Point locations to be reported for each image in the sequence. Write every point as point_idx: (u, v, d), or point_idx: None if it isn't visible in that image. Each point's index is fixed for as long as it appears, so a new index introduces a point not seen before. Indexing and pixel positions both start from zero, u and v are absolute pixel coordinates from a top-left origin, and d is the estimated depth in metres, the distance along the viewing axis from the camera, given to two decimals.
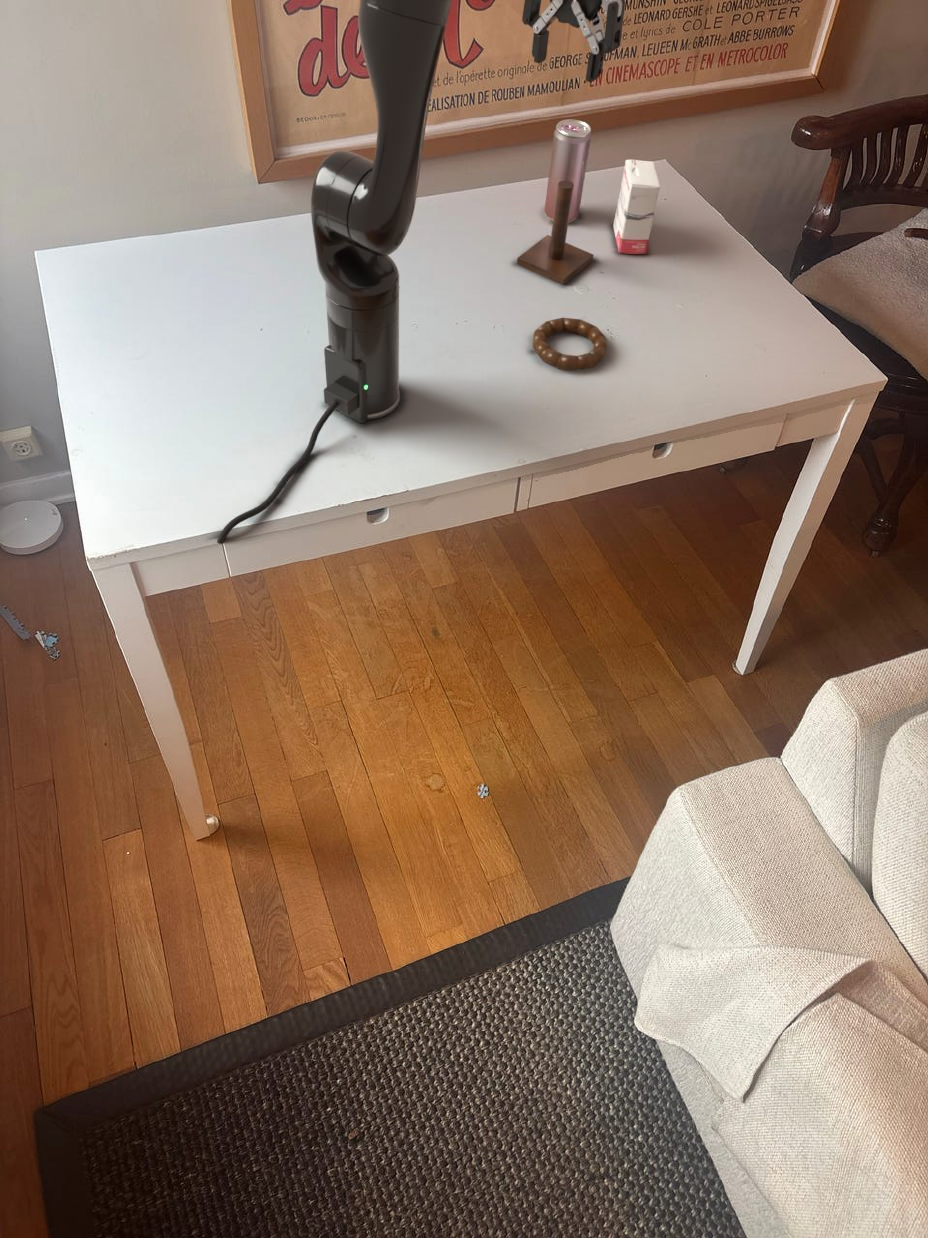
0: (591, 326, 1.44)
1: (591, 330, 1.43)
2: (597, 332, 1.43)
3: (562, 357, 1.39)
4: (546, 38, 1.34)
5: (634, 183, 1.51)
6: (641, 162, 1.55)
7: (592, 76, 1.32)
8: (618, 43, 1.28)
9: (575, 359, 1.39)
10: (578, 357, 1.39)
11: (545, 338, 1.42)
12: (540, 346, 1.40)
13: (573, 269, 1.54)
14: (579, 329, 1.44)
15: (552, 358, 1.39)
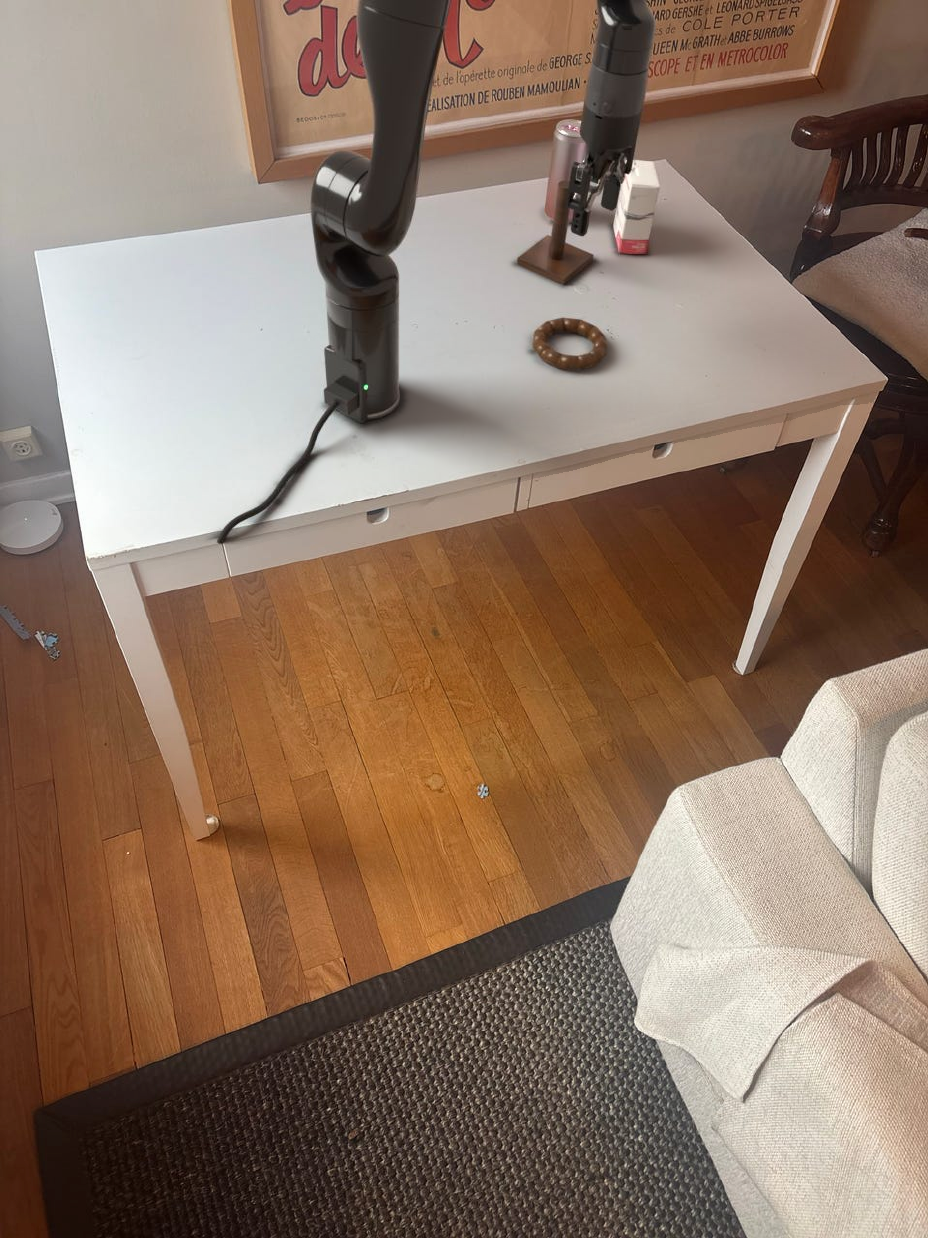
0: (591, 326, 1.44)
1: (591, 330, 1.43)
2: (597, 332, 1.43)
3: (562, 357, 1.39)
4: (613, 190, 1.34)
5: (634, 183, 1.51)
6: (641, 162, 1.55)
7: None
8: (578, 207, 1.27)
9: (575, 359, 1.39)
10: (578, 357, 1.39)
11: (545, 338, 1.42)
12: (540, 346, 1.40)
13: (573, 269, 1.54)
14: (579, 329, 1.44)
15: (552, 358, 1.39)
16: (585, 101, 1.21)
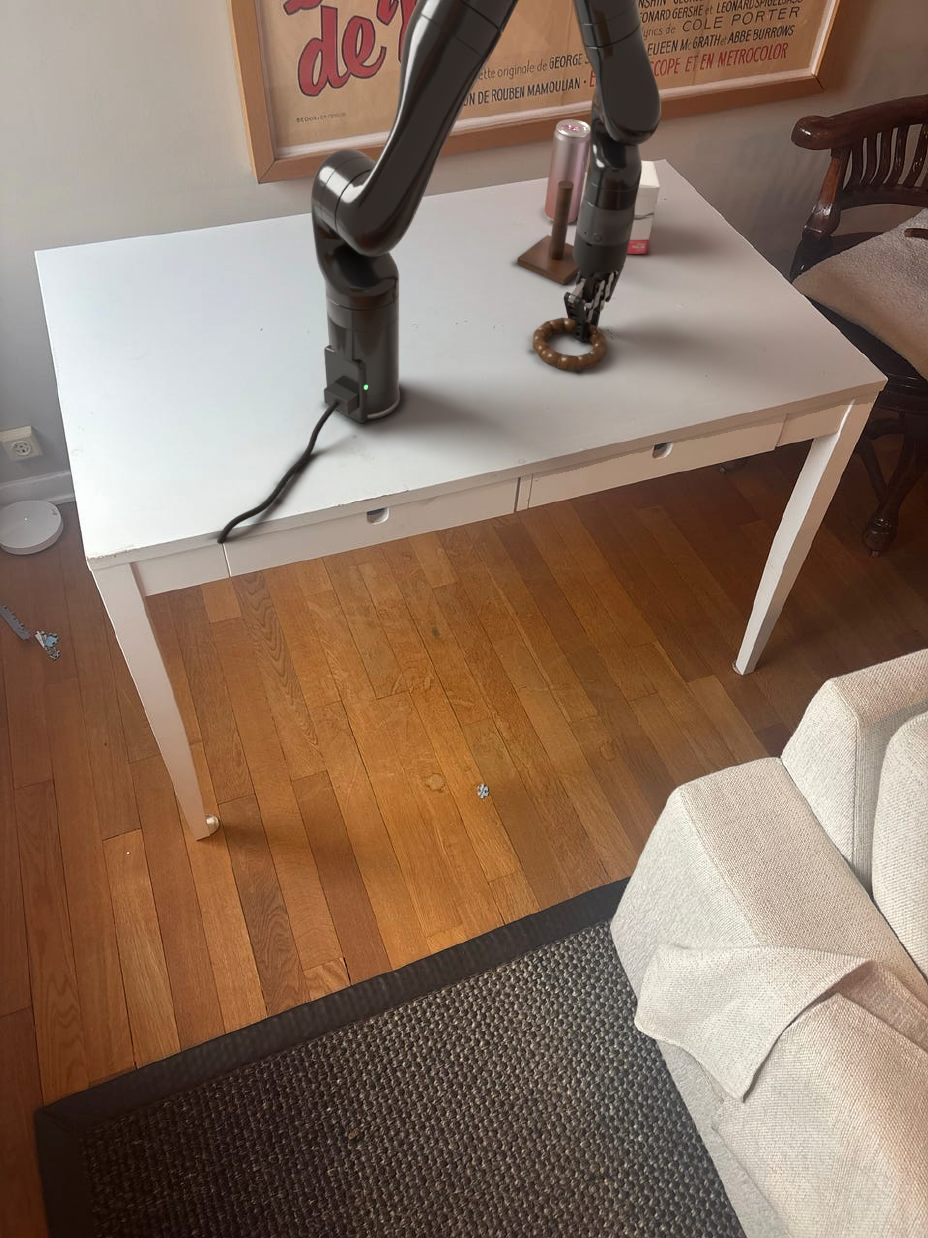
0: (591, 326, 1.44)
1: (591, 330, 1.43)
2: (597, 332, 1.43)
3: (562, 357, 1.39)
4: (593, 317, 1.44)
5: None
6: None
7: None
8: (579, 321, 1.39)
9: (574, 360, 1.39)
10: (578, 357, 1.39)
11: (545, 338, 1.42)
12: (540, 346, 1.40)
13: (573, 269, 1.54)
14: None
15: (552, 358, 1.39)
16: (577, 229, 1.32)
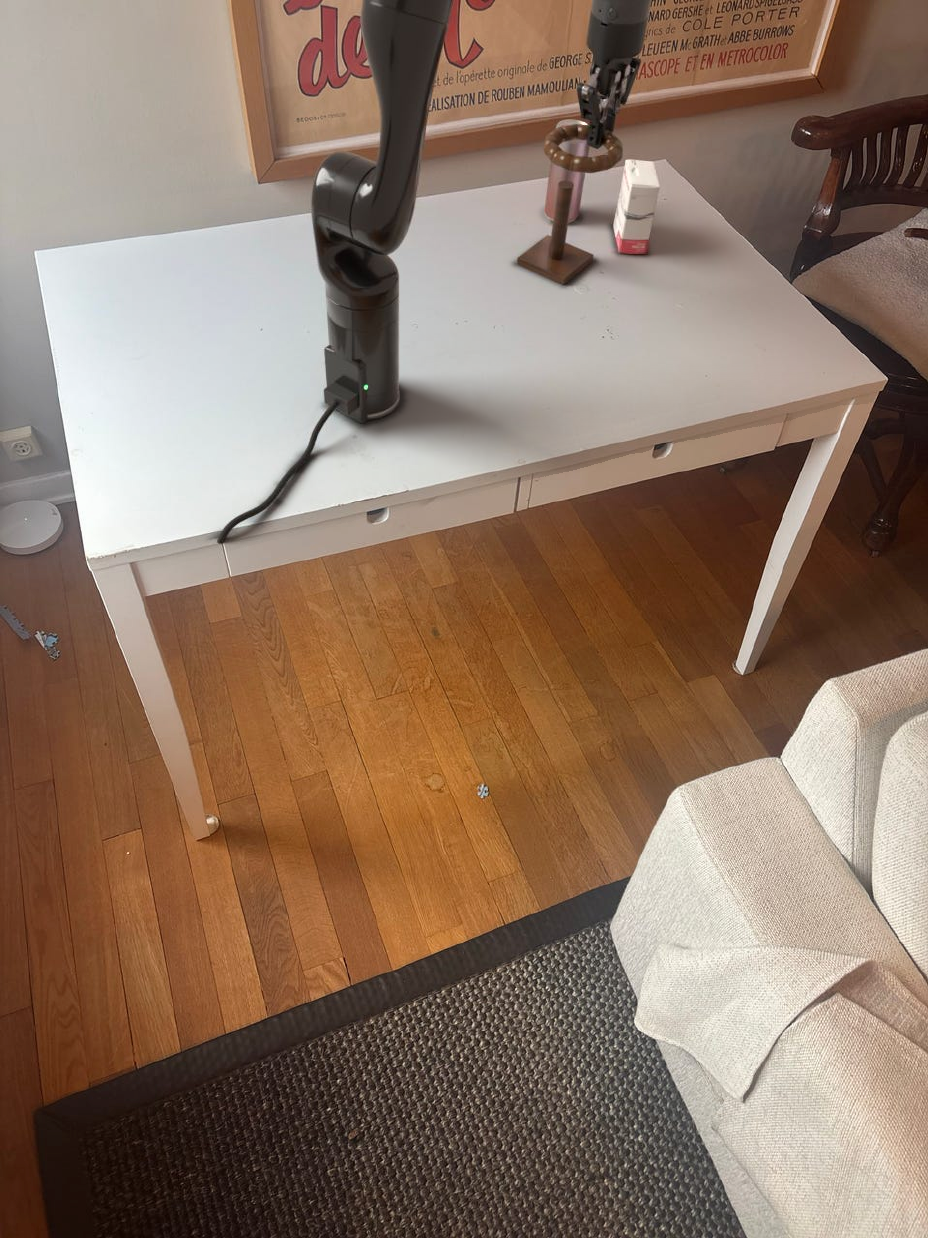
0: (606, 131, 1.36)
1: (606, 134, 1.36)
2: (612, 136, 1.35)
3: (575, 158, 1.31)
4: (608, 121, 1.36)
5: (634, 183, 1.51)
6: (641, 162, 1.55)
7: None
8: (593, 120, 1.32)
9: (588, 160, 1.31)
10: (592, 158, 1.32)
11: (557, 142, 1.35)
12: (552, 149, 1.33)
13: (573, 269, 1.54)
14: None
15: (564, 160, 1.32)
16: (591, 9, 1.24)
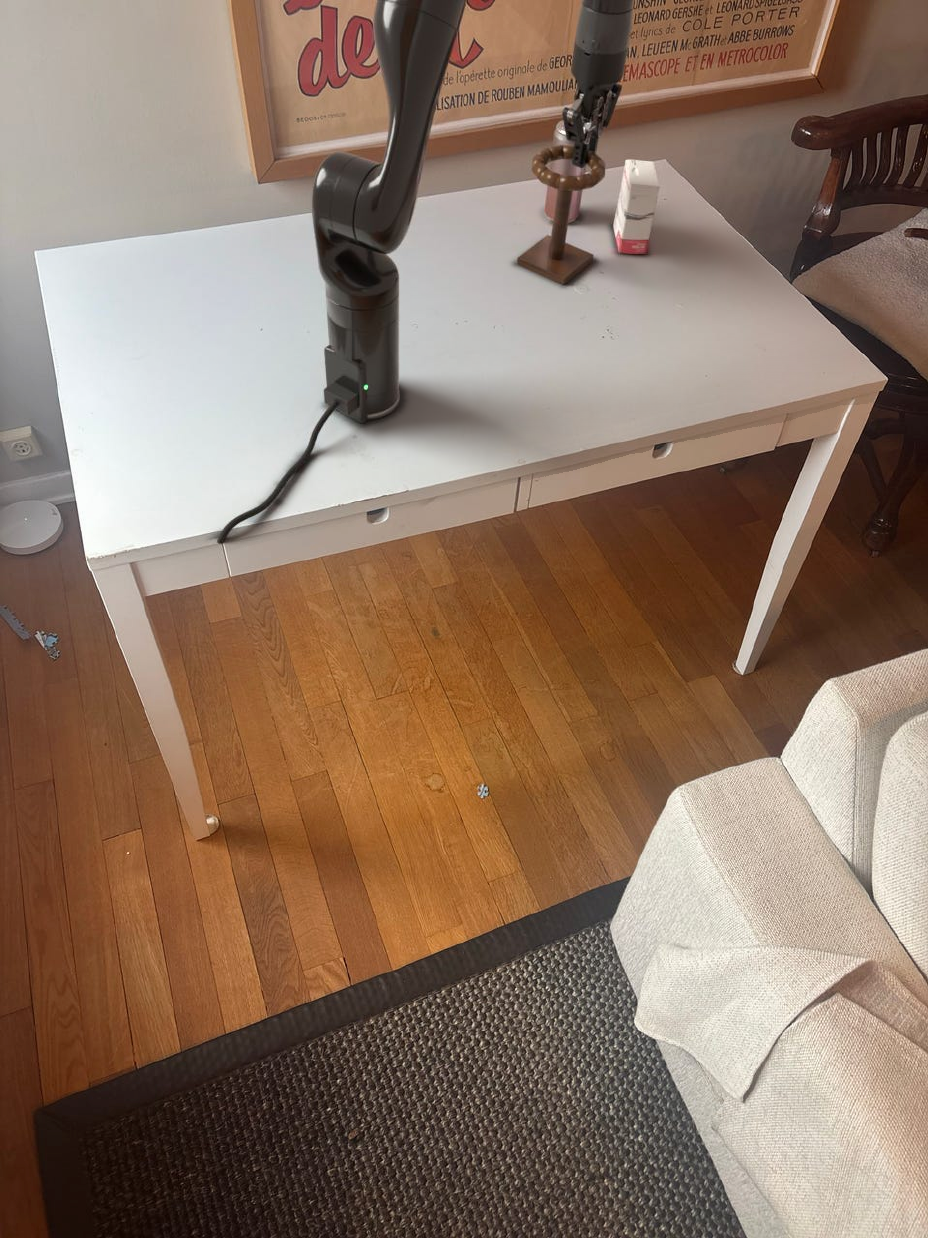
0: (589, 151, 1.46)
1: (589, 154, 1.46)
2: (595, 156, 1.45)
3: (561, 177, 1.41)
4: (592, 142, 1.46)
5: (634, 183, 1.51)
6: (641, 162, 1.55)
7: None
8: (577, 141, 1.42)
9: (573, 179, 1.41)
10: (576, 177, 1.41)
11: (544, 162, 1.44)
12: (539, 168, 1.43)
13: (573, 269, 1.54)
14: None
15: (551, 178, 1.42)
16: (575, 40, 1.34)
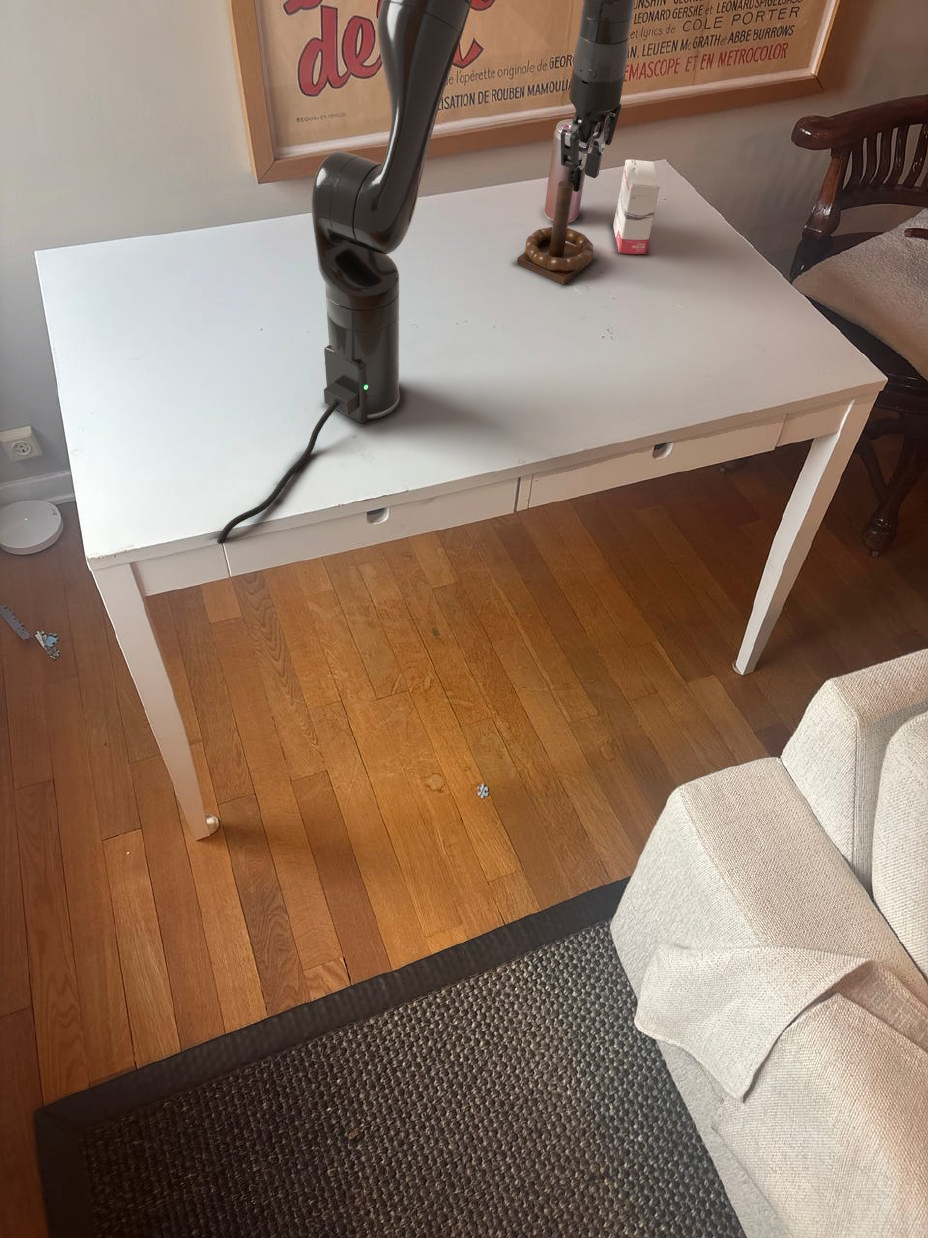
0: (579, 234, 1.57)
1: (579, 237, 1.57)
2: (584, 239, 1.56)
3: (552, 259, 1.52)
4: (595, 159, 1.50)
5: (634, 183, 1.51)
6: (641, 162, 1.55)
7: None
8: (571, 166, 1.44)
9: (563, 261, 1.52)
10: (566, 259, 1.52)
11: (536, 243, 1.55)
12: (532, 250, 1.54)
13: None
14: (567, 237, 1.58)
15: (543, 260, 1.53)
16: (573, 68, 1.37)
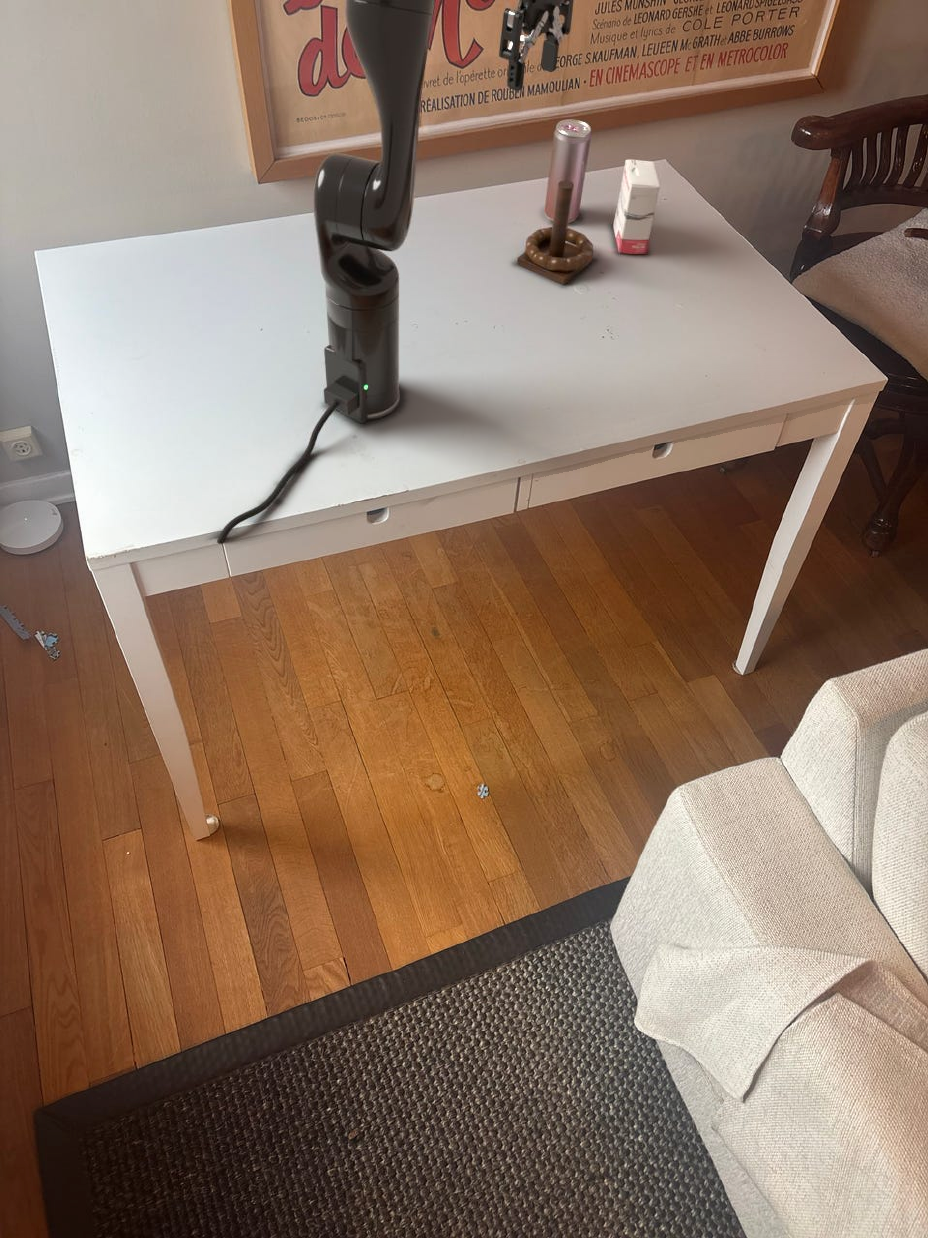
0: (579, 234, 1.57)
1: (579, 237, 1.57)
2: (584, 239, 1.56)
3: (552, 259, 1.52)
4: (552, 50, 1.37)
5: (634, 183, 1.51)
6: (641, 162, 1.55)
7: None
8: (510, 56, 1.30)
9: (563, 261, 1.52)
10: (566, 259, 1.52)
11: (536, 243, 1.55)
12: (532, 250, 1.54)
13: None
14: (567, 237, 1.58)
15: (543, 260, 1.53)
16: None
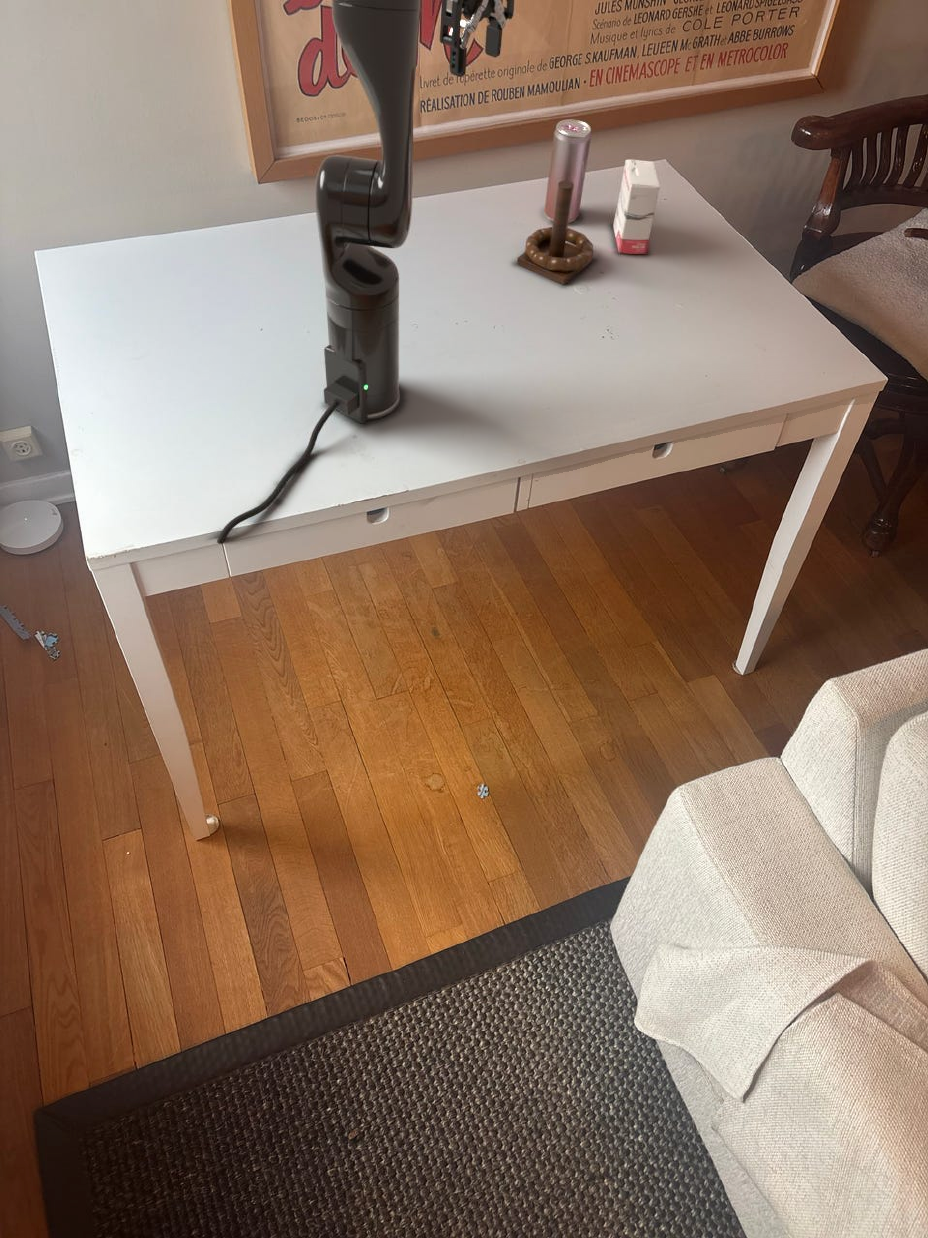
0: (579, 234, 1.57)
1: (579, 237, 1.57)
2: (584, 239, 1.56)
3: (552, 259, 1.52)
4: (495, 35, 1.36)
5: (634, 183, 1.51)
6: (641, 162, 1.55)
7: None
8: (451, 41, 1.28)
9: (563, 261, 1.52)
10: (566, 259, 1.52)
11: (536, 243, 1.55)
12: (532, 250, 1.54)
13: None
14: (567, 237, 1.58)
15: (543, 260, 1.53)
16: None
